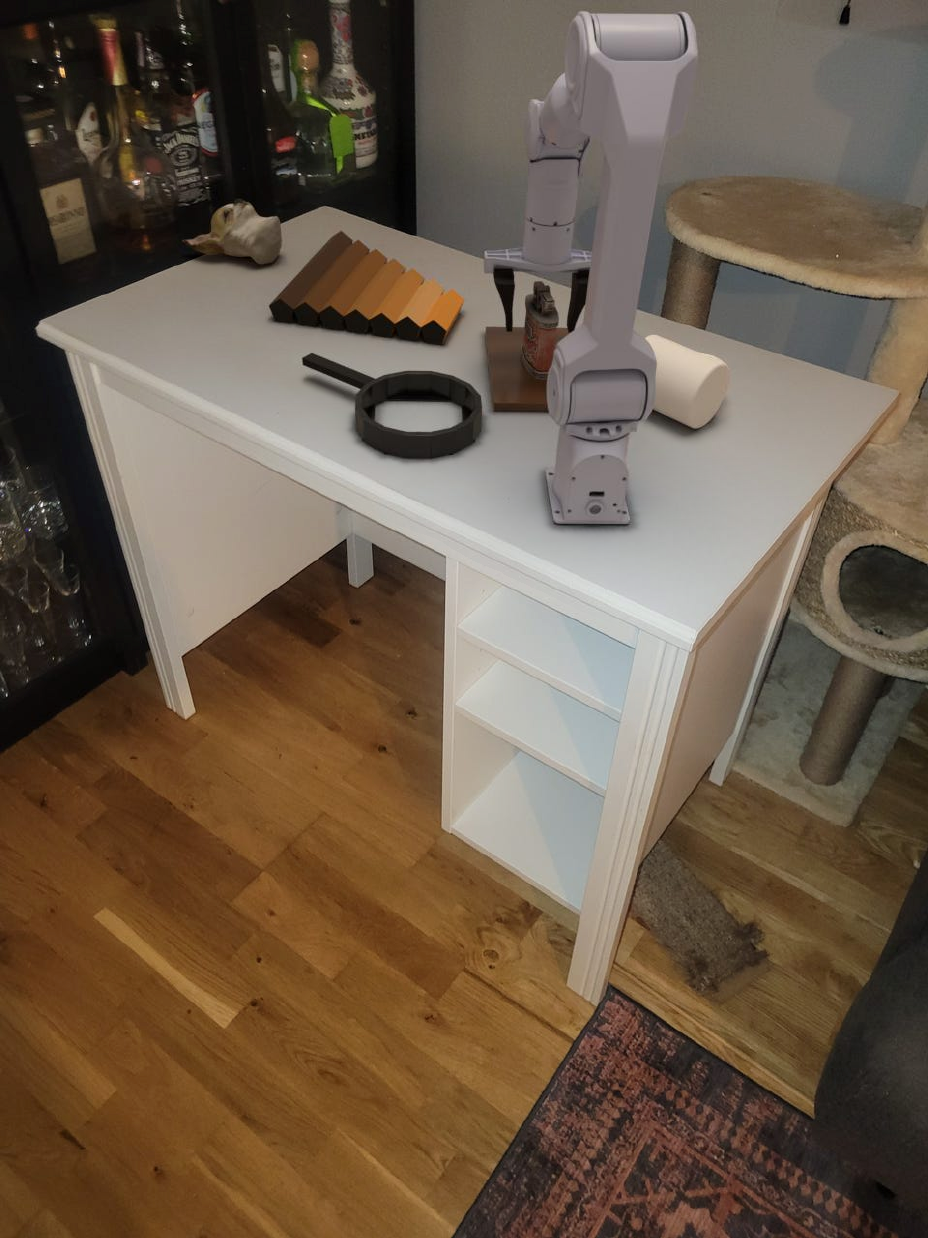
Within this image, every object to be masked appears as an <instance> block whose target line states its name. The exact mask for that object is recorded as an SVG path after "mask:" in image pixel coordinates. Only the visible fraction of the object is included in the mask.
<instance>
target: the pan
mask: <svg viewBox="0 0 928 1238" xmlns="http://www.w3.org/2000/svg"><path fill="white" fill-rule="evenodd" d="M301 362H302V366H304V367H307V368H309V369H311V370H314V371H316V372H318V373H321V374H322V375H325V376H328V377H330V378H332V379H335V380H338V381H340V382H342V383H345V384H347V385H349V386H351V387H354V388H356V389H359V391H357V393H356V394H355V400H354V401H355V402H354V416H355V417H354V420H355V421H354V422H355V431H356V432H357V434H358V435H359V436H360V438H361V442H364V443H365V444H366V445H369V446H370V447H372V448H374V449H375V450H377V451H378V452H381V453H383V455H391V456H395V457H400V458H404V459H434V458H438V457H444V456H447V455H448V456H452V455H454V454H456V453H458V452H459V451H461V450H463V449H465V448H466V447H469V446H471V445H472V444H473V443H476V439H477V437H478V436H479V434H480V433H481V432H482V420H483V404H482V396H481V394H480V393H479V391H477V389H476V388H474V386H473V385H472V384H471V383H468V382H467V381H465V380H463V379H461V378H459V377H457V376H455V375H452V374H448V373H442V372H440V371H439V372H438V371H435V370H401V371H397V372H391V373H386V374H383V375H381V376H379V377H376V378H375V377H373V376H370V375H368V374H366V373H363V372H360V371H358V370H356V369H353V368H350V367H348V366H347V365H346V366H345V365H343V364H340V363H338V362H336V361H334V360H332V359H328V358H327V357H324V356H321V355H319V354H316V353H314V352H311V353H308V354H306V355H305V356H302V357H301ZM384 402H451V403H453V404H455V405H458V406H459V407H461V420H462V421H460V422H459V423H457V424H455V425H453V426H451V427H446V428H442V429H437V430H433V431H406V430H402V429H397V428H392V427H388V426H385V425H383V424H382V423H379V422H377V421H376V420H375V419H376V406H378V405H380V404H382V403H384Z"/></svg>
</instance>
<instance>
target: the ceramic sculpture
mask: <svg viewBox="0 0 928 1238" xmlns="http://www.w3.org/2000/svg"><path fill="white" fill-rule="evenodd" d="M182 242H183V244H185V245H186V246H187V247H189V248H191V249H193V250H195V251H197V252H200V253H201V254H204V255H219V254H224V255H227V256H231V257H238V258H245V257H251V258H252V260H254V261H255V262H256V263H257V264H258V265H267V264H271V263H273V262H275V260H276V259H277V257H278V256H279V255H280V254H281V253H280V252H281V249H282V246H283V236H282V226H281V221H280V218H279V217H278V216H277V215H275V216H269V217H266V216H265V217H263V216H261V215H259V214H258V213H257V212H256V210H255V208H254V206H253V205H252V204H251V203H250V202H248V201H245V200H243V199H242V198H236V199H235V200H234V201H233V203H229V204H226V205H224V206H222V207H220V208H218V209H217V210H216V211H215V212H214V214H213V215H212V217H211V221H210V233H207V234H200V235H198V236H196V237H194V238H193V239H192V238H190V239H182Z"/></svg>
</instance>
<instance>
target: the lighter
mask: <svg viewBox="0 0 928 1238" xmlns="http://www.w3.org/2000/svg"><path fill="white" fill-rule="evenodd" d="M532 287H533V289H532V291H533V293H529V294H527V295H525V297H524V306H525V316H524V325H523V327H524V339H523V345H522V346H521V358H522V361H523V364H524V366H525V367H526V369H527V370H528V372H529V373H530V374H531V375H532V376H533V377H535V378H537V379H547V377H548V372H549V369H550V367H551V365H552V361H553V354H554V345H555V335H556V328H558V327H559V321H560V318H559V317H560V316H559V312H558V310H557V308H556V306H555V305H556V300H555V299H554V298H553V296H552V293H551V287H550V285H549V284H545V282H543V281H541V280H535V281H533V285H532Z"/></svg>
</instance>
